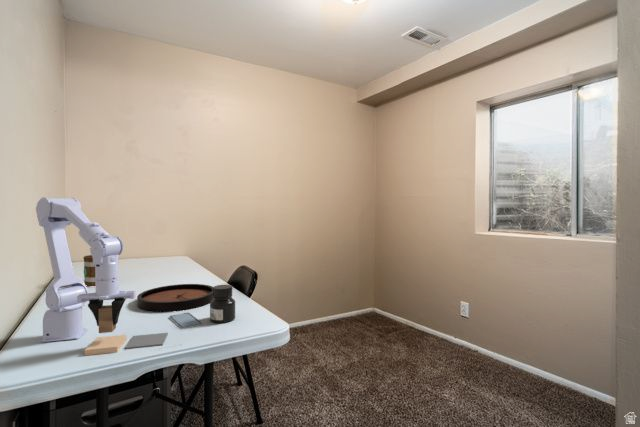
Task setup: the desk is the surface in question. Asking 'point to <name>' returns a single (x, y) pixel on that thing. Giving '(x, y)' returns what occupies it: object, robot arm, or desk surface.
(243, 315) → the desk surface
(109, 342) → the clay tile
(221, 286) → the ink bottle
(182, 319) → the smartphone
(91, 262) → the mug
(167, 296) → the wall clock
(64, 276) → the robot arm
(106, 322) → the block
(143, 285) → the desk surface
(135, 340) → the mat
